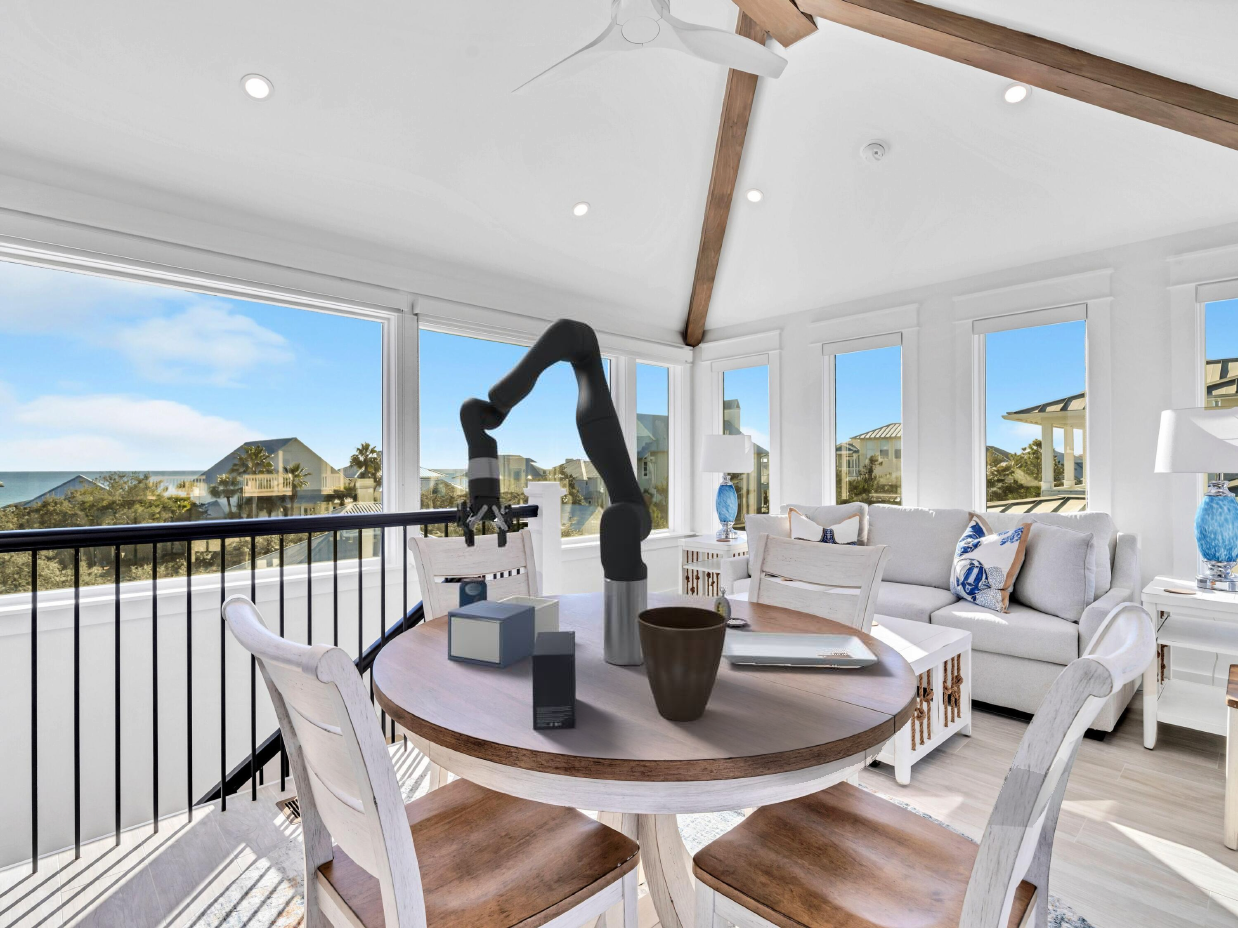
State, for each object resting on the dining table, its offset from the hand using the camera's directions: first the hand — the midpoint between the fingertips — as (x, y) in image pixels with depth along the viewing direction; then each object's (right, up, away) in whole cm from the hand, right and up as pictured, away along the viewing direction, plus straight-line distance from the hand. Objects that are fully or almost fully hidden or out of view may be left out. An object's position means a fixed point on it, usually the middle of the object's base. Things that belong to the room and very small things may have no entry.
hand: (486, 546), depth 145 cm
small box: (+20, -22, -42) cm, 52 cm away
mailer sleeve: (+4, -22, -11) cm, 25 cm away
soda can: (-6, -22, +13) cm, 26 cm away
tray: (+68, -23, -13) cm, 73 cm away
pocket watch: (+60, -22, +15) cm, 65 cm away
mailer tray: (+6, -21, -6) cm, 23 cm away
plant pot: (+41, -22, -42) cm, 63 cm away
